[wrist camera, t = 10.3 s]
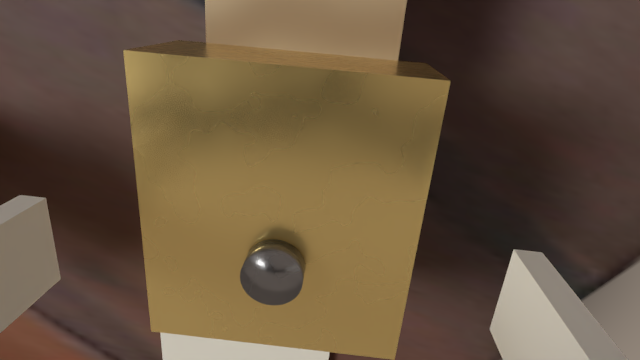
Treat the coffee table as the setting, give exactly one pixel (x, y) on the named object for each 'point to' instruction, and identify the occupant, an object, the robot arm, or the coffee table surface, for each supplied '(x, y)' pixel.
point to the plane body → (309, 25)
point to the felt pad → (230, 350)
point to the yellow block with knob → (281, 191)
